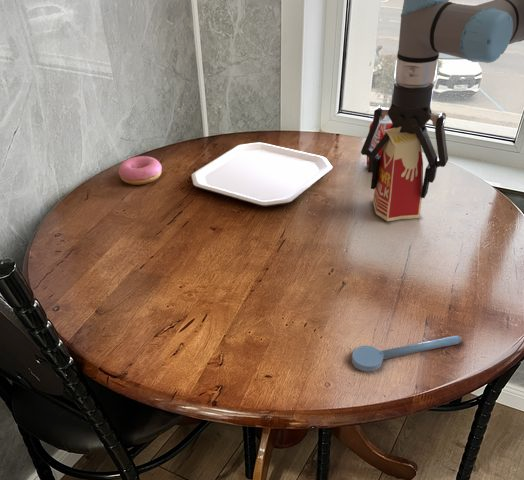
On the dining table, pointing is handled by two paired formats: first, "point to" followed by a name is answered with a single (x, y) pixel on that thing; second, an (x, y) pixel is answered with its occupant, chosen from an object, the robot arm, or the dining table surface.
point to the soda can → (380, 133)
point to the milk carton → (399, 177)
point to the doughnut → (140, 170)
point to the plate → (262, 174)
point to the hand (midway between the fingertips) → (398, 190)
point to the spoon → (394, 352)
